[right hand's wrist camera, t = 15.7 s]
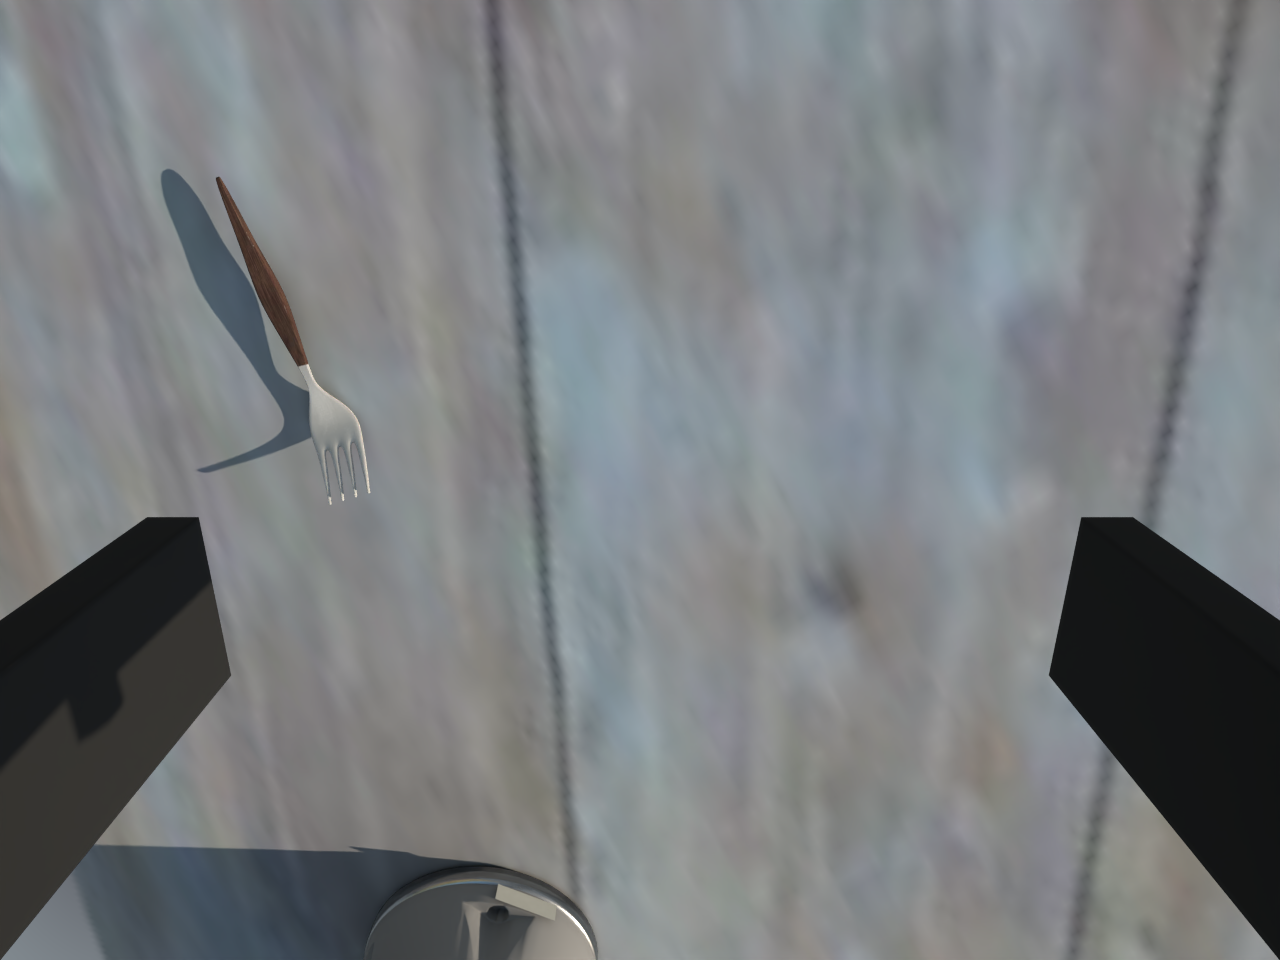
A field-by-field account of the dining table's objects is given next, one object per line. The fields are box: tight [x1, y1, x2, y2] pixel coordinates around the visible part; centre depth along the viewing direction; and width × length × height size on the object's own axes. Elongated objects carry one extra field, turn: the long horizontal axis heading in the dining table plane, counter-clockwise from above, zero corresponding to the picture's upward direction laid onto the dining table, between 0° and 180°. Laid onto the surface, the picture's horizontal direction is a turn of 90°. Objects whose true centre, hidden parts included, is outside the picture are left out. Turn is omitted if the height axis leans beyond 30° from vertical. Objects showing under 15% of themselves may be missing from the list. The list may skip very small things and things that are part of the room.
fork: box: [216, 177, 370, 505], centre depth 40 cm, size 3×16×2 cm, turn 17°
